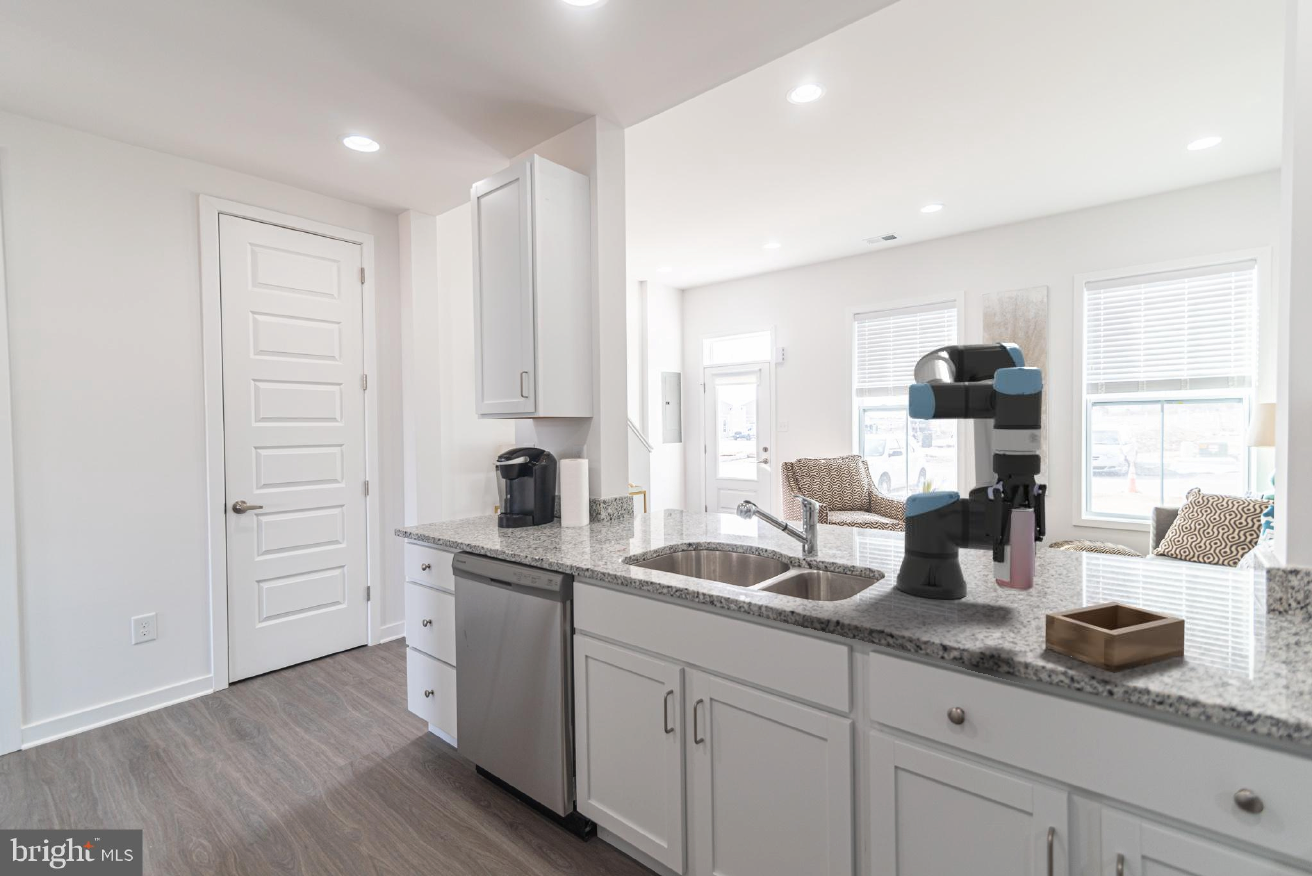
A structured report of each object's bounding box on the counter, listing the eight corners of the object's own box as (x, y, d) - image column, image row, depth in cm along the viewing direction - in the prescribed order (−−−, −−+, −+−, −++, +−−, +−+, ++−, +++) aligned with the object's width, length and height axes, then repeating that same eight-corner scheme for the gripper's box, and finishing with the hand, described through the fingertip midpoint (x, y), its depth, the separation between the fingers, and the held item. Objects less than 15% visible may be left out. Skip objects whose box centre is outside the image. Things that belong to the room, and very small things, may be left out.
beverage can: (994, 581, 113) (996, 503, 112) (1031, 585, 110) (1033, 505, 109) (996, 589, 107) (997, 508, 107) (1034, 594, 105) (1036, 510, 104)
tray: (1045, 648, 103) (1045, 614, 103) (1113, 633, 111) (1113, 601, 110) (1114, 672, 93) (1114, 635, 93) (1184, 654, 100) (1184, 619, 100)
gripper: (998, 456, 100) (996, 589, 101) (1071, 451, 107) (1068, 576, 109) (961, 453, 107) (959, 578, 108) (1031, 449, 114) (1029, 566, 116)
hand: (1014, 577), depth 108 cm, fingers closed on beverage can, 6 cm apart
